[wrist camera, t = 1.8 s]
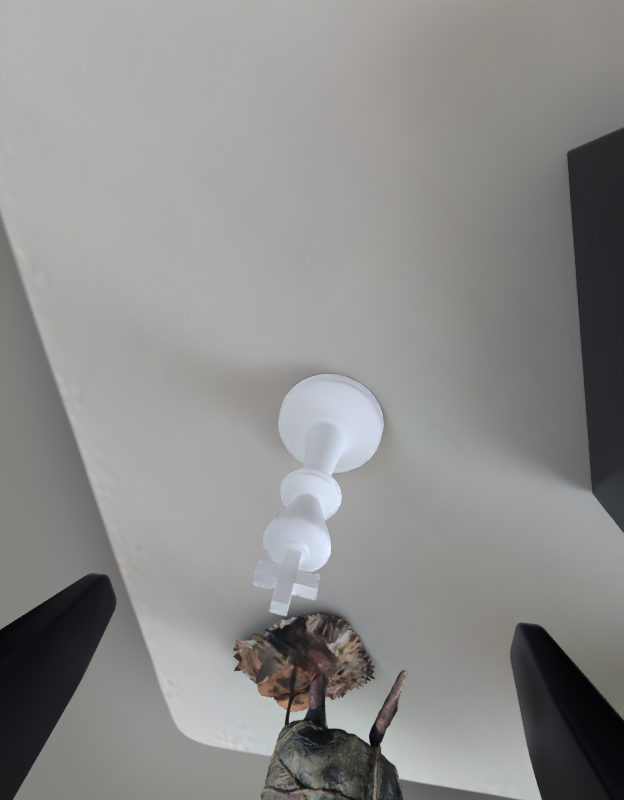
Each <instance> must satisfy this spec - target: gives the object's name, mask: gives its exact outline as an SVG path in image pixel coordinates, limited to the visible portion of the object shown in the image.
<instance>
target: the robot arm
mask: <svg viewBox="0 0 624 800" xmlns="http://www.w3.org/2000/svg"><path fill="white" fill-rule="evenodd" d="M115 607H116V596H115V593H114V590H113V587H112V584H111V581H110V578H109V577H108V576H107V575H104V574H97V573H91V574H88V575H87V576H84V577H83V578H81V579H80V580H78V581H77V582H75V583H74V584H72V585H70V586H69V587H67V588H66V589H64V590H62V591H61V592H59V593H58V594H56V595H54V596H53V597H51V598H50V599H48V600H47V601H45V602H44V603H42V604H41V605H39V606H37V607H36V608H34V609H32V610H31V611H29V612H28V613H26V614H25V615H23V616H22V617H20V618H18V619H17V620H15V621H13V622H12V623H10V624H9V625H7V626H6V627H4V628H2V629H1V630H0V800H13V799H14V797H15V795H16V793H17V792H18V790H19V788H20V786H21V784H22V783H23V781H24V779H25V778H26V776H27V774H28V772H29V771H30V769H31V767H32V766H33V764H34V762H35V760H36V759H37V757H38V755H39V753H40V752H41V750H42V748H43V746H44V745H45V743H46V741H47V739H48V738H49V736H50V734H51V732H52V731H53V729H54V727H55V725H56V724H57V722H58V720H59V718H60V717H61V715H62V713H63V712H64V710H65V708H66V706H67V705H68V703H69V701H70V699H71V698H72V696H73V694H74V692H75V691H76V689H77V687H78V685H79V683H80V682H81V680H82V678H83V676H84V674H85V672H86V670H87V668H88V666H89V663H90V661H91V659H92V657H93V655H94V653H95V651H96V648H97V646H98V644H99V642H100V640H101V638H102V636H103V634H104V631H105V630H106V627H107V625H108V623H109V621H110V619H111V617H112V615H113V612H114V610H115ZM510 657H511V664H512V670H513V675H514V680H515V685H516V690H517V695H518V701H519V706H520V711H521V716H522V721H523V726H524V731H525V737H526V742H527V746H528V751H529V756H530V759H531V763H532V767H533V771H534V774H535V778H536V781H537V785H538V788H539V791H540V795H541V798H542V800H624V720H623V718H622V717H621V716H620V715H619V714H618V713H617V712H616V710H615V709H614V708H613V707H612V706H611V705H610V704H609V702H608V701H607V700H606V699H605V698H604V697H603V695H602V694H601V693H600V692H599V691H598V690H597V689H596V687H595V686H594V685H593V684H592V683H591V682H590V681H589V679H588V678H587V677H586V676H585V675H584V674H583V673H582V671H581V670H580V669H579V668H578V667H577V666H576V665H575V663H574V662H573V661H572V660H571V659H570V658H569V657H568V655H567V654H566V653H565V652H564V651H563V650H562V648H561V647H560V646H559V645H558V644H557V643H556V642H555V640H554V639H553V638H552V637H551V636H550V635H549V634H548V632H547V631H546V630H545V629H544V628H543V627H542V626H540V625H537V624H531V623H522V622H521V623H518V624H517V626H516V629H515V633H514V637H513V641H512V645H511V650H510Z"/></svg>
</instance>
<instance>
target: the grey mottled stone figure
mask: <svg viewBox="0 0 624 800" xmlns="http://www.w3.org/2000/svg"><path fill="white" fill-rule="evenodd" d="M343 621H344V619H337V618H336V617H335V616H334V615H326V614H325V615H323V614H322V613H321V615H320V614H319V613H317V615H316V616H315V615H313V614H312V617H311V616H309V615H306V616H303V617H297V618H295V617H291V618H290V619H289V620H284V619H279V622H278V621H277V622H278V623H276V624H274V625H273V626H272V627H270V628H268V629H266V630H265V632H266V634H253V636H252V640H245V641H243V640H241V641H240V640H236V645H235V647H234V651H239V652H238V653H237V654H236V655H235V656H234V657H235V658H236V659H237V660H238V661H239V664H238V665H237V667H236V668H235V670H234V671H242V670H245V671H243V672H244V673H246V674H248V675H249V676H250V677H252V678H253V679H252V678H250V679H251V680H253V681H254V682H255V683H256V684H258V692H259V693H260V694H261V695H262V696H266V697H274V699H275V700H276V701H277V703H278V704H279V705H280V706H282V707H284V708H285V709H286V710H287V714H286V719H285V726H284V727H283V729H282V731H281V732H280V733H279V737H278V740H277V744H276V746H275V749H274V753H273V754H272V756H271V760H270V765H269V770H268V774H267V779H266V782H265V783H266V785H265V787H264V789H263V790H262V792H261V799H262V800H403V797H402V786H401V783H400V782H399V780H398V777H399V776H398V774H397V770H396V768H395V766H394V765H393V764H392V763H390V762H389V761H388V760H387V759H386V758H385V757H384V756H383V755H382V754H381V747H380V743H381V742H382V740H383V737H384V734H385V731H386V729H387V727H388V726H390V723H391V721H392V719H393V717H394V716H395V713H396V712H397V710H398V707H397V705H398V700H399V696H400V693H401V691H402V688H403V686H404V684H405V679H406V676H407V671H405V670H403V671H401V672H400V674H399V675H398V677H397V679H396V682H395V684H394V685H393V687H392V689H391V692H390V694H389V695H388V697H387V698H386V700H385V702H384V705H383V707H382V708H381V710H380V712H379V714H378V716H377V718H376V720H375V723H374V724H373V726H372V728H371V731H370V734H369V740H370V745H371V746H370V745H369V744H368V743H366V742H365V741H363V740H362V739H360V738H359V737H357V736H356V735H355V734H349V733H347V732H346V731H344V730H341V729H334V728H333V729H328V726H327V721H326V712H325V697H330V698H331V699H332V700H334V699H336V695H337V696H338V698H339V697H340V695H341V696H342V698H343V696H344V695H345V694H346V692H348V690H347V689H349V690H352V689H353V688H354V687H356V688H358V689H359V687H358V685H359V686H362V685H361V683H367V681H366V680H370V679H369V678H368V677H370V678H373V679H374V677H373V676H372V673H373V672H374V671H373V670H372V669H371V668H374V666H372V665H371V662H372V661H369V662H368V659H369V656H368V655H366V654H365V650H364V648H363V643H356V641H357V640H358V638H359V636H355V632H352V631H353V630H347V629H348V628H350V627H351V626H349V625H348V623H343ZM370 681H371V680H370ZM362 687H363V686H362ZM345 691H346V692H345ZM307 708H309V709H308V712H307V714H306V716H305V718H304V719H303V720H298V721H293V722H291V723H290V724H289V714H290V712H292V711H294V712H297V711H301V710H305V709H307Z"/></svg>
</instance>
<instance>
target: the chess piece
mask: <svg viewBox="0 0 624 800" xmlns="http://www.w3.org/2000/svg"><path fill="white" fill-rule="evenodd" d="M278 425H279V433H280V436H281V439H282V442H283V444H284V446H285V447H286V449H287V450H288V452H289V453H290V454H291V455H292V456H293V457H294V458H295V459H296V460H297V461H299V462H300V463H302V464H303V468H301V469H297V470H295V471H293V472H291V473H289V474H288V475H287V476H286V477H285V478H284V480H283V482H282V484H281V488H280V493H281V501H282V503H283V505H284V507H285V509H284V510H283V511H282V512H281V513H280V514H279V515H277V516H276V517H275V518H274V519H273V520H272V521H271V522H270V524H269V525H268V526H267V528H266V529H265V532H264V535H263V546H264V549H265V552H266V554H267V555H268V557H269V558H270V559H271V560H272V561H273V562H274V563H275V564H274V563H270V562H266V561H263V560H259V561H258V563H257V566H256V568H255V571H254V576H253V585H257V586H260V587H264V588H268V589H272V590H274V592H273V595H272V598H271V603H270V610H269V612H271V613H275V614H278V615H282V616H287V612H288V608H289V604H290V600H291V596H292V595H295V596H299V597H302V598H306V599H310V600H314V601H316V597H317V592H318V588H319V582H320V577H321V575H317V574H313V573H310V572H312V571H315V570H317V569H319V568H321V567H322V566H323V565H324V564H325V563H326V562H327V561H328V559H329V557H330V553H331V541H330V536H329V532H328V529H327V527H326V523H325V520H327V519H329V518H330V517H331V516H333V515H334V513H335V512H336V511H337V509H338V508H339V506H340V504H341V498H342V496H341V490H340V488H339V486H338V484H337V482H336V481H335V480H334V479H333V478H332V477H331V475H332V473H342V472H347V471H350V470H353V469H355V468H358V467H359V466H361V465H363V464H364V463H365V462H367V461H368V460H369V459H370V458H371V457H372V456H373V454H374V453H375V451H376V450H377V448H378V446H379V443H380V440H381V437H382V433H383V427H384V421H383V414H382V411H381V408H380V405H379V403H378V402H377V400H376V398H375V397H374V396H373V394H372V393H371V392H370V391H369V390H368V389H367V388H366V387H364V386H363V385H362V384H360V383H359V382H357V381H355V380H353V379H351V378H348V377H345V376H341V375H336V374H321V375H315V376H312V377H309V378H306V379H304V380H302V381H301V382H299V383H298V384H296V385H295V386H294V387H293V388H292V389H291V390H290V391H289V392H288V394H287V395H286V397H285V398H284V400H283V403H282V406H281V410H280V414H279V421H278Z"/></svg>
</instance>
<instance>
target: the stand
mask: <svg viewBox="0 0 624 800" xmlns="http://www.w3.org/2000/svg"><path fill="white" fill-rule="evenodd" d="M567 157H568V170H569V184H570V197H571V211H572V224H573V238H574V251H575V265H576V278H577V292H578V305H579V319H580V332H581V346H582V359H583V373H584V386H585V400H586V413H587V427H588V440H589V454H590V467H591V481H592V493H593V495H594V496H595V497H596V498H597V500H598V501H599V502H600V503H601V505H602V506H603V507H604V509H605V510H606V511H607V512H608V514H609V515H610V516H611V517H612V519H613V520H614V521H615V522H616V524H617V525H618V526H619V528H620V529H621V530H622V531H623V533H624V127H623V128H621V129H619V130H616V131H614V132H612V133H609V134H607V135H605V136H602V137H600V138H598V139H595V140H593V141H591V142H588V143H586V144H584V145H581V146H579V147H577V148H574V149H572V150H570V151H568V153H567Z"/></svg>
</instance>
